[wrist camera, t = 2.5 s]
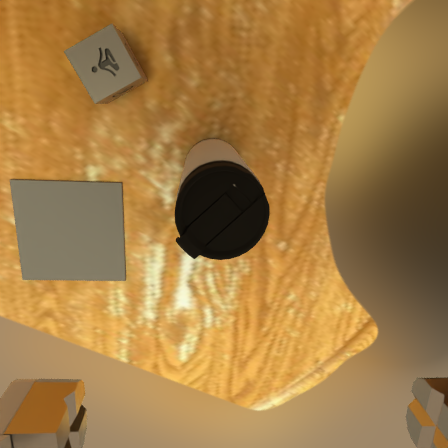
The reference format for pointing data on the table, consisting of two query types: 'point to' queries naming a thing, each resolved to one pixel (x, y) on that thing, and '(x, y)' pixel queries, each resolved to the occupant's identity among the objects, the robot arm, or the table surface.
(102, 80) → the dice cube
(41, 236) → the mat
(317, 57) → the table surface
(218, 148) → the travel mug
